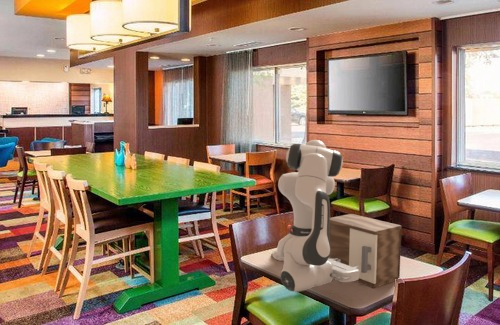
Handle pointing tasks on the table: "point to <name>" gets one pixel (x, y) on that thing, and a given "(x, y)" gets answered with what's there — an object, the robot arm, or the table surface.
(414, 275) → the table surface
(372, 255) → the sliding door
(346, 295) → the table surface
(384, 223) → the cabinet
